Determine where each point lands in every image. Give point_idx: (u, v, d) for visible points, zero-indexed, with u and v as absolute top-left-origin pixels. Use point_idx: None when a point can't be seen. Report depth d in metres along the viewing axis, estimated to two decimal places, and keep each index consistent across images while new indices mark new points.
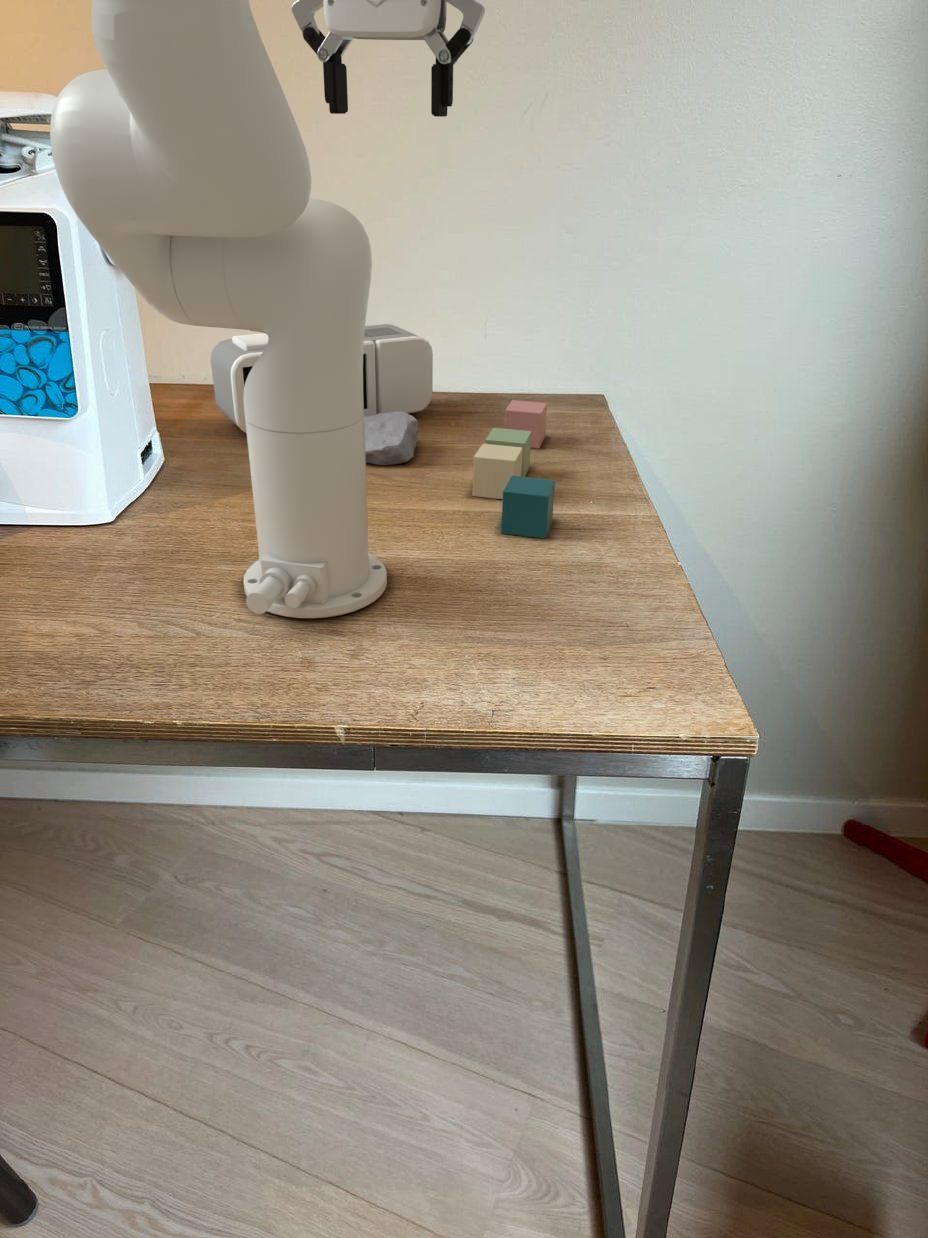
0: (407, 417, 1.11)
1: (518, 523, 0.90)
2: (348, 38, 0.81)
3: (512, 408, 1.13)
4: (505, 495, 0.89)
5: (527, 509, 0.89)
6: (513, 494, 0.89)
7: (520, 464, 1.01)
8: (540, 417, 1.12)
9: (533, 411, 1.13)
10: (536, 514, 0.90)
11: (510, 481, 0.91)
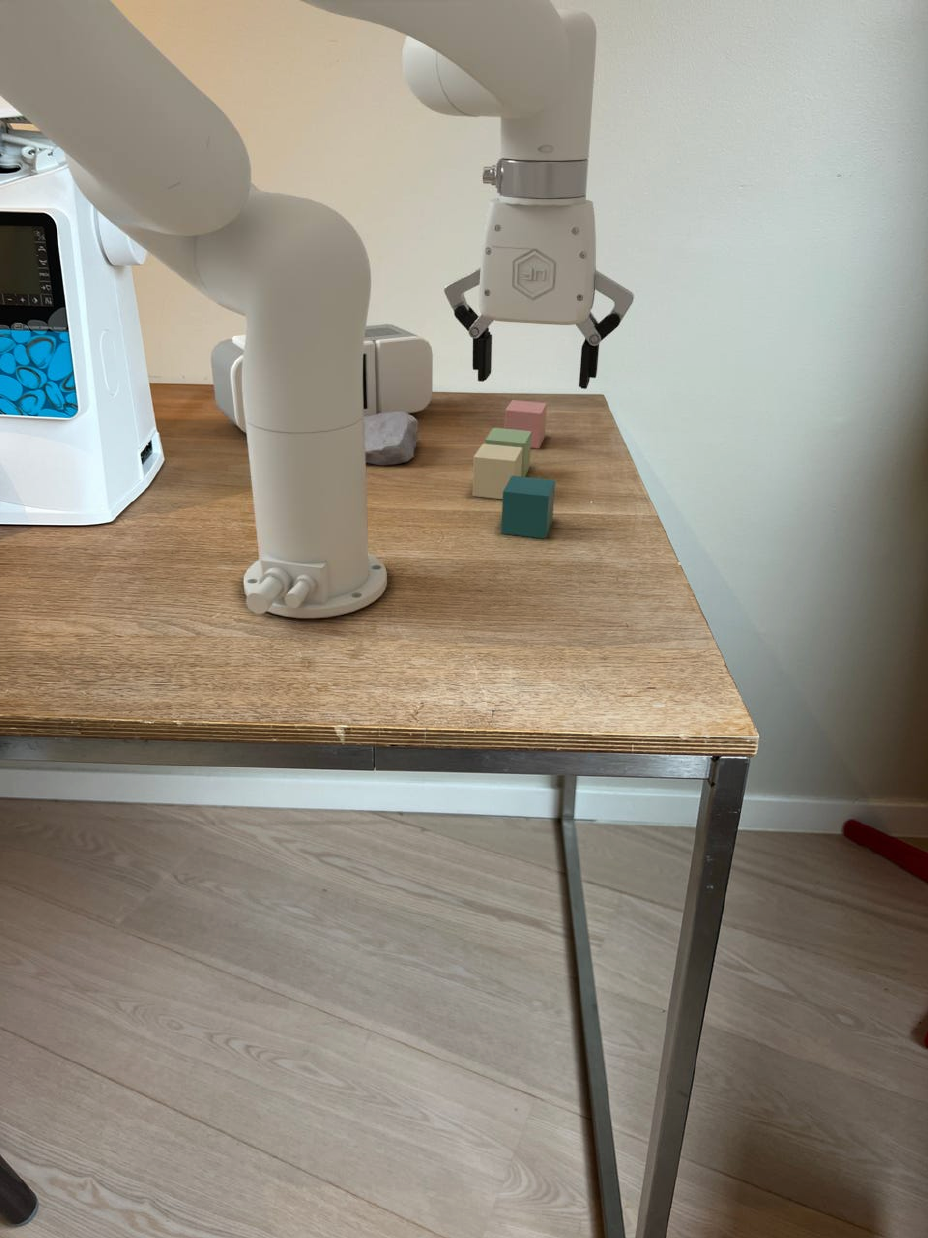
0: (407, 417, 1.11)
1: (518, 523, 0.90)
2: None
3: (512, 408, 1.13)
4: (505, 495, 0.89)
5: (527, 509, 0.89)
6: (513, 494, 0.89)
7: (520, 464, 1.01)
8: (540, 417, 1.12)
9: (533, 411, 1.13)
10: (536, 514, 0.90)
11: (510, 481, 0.91)
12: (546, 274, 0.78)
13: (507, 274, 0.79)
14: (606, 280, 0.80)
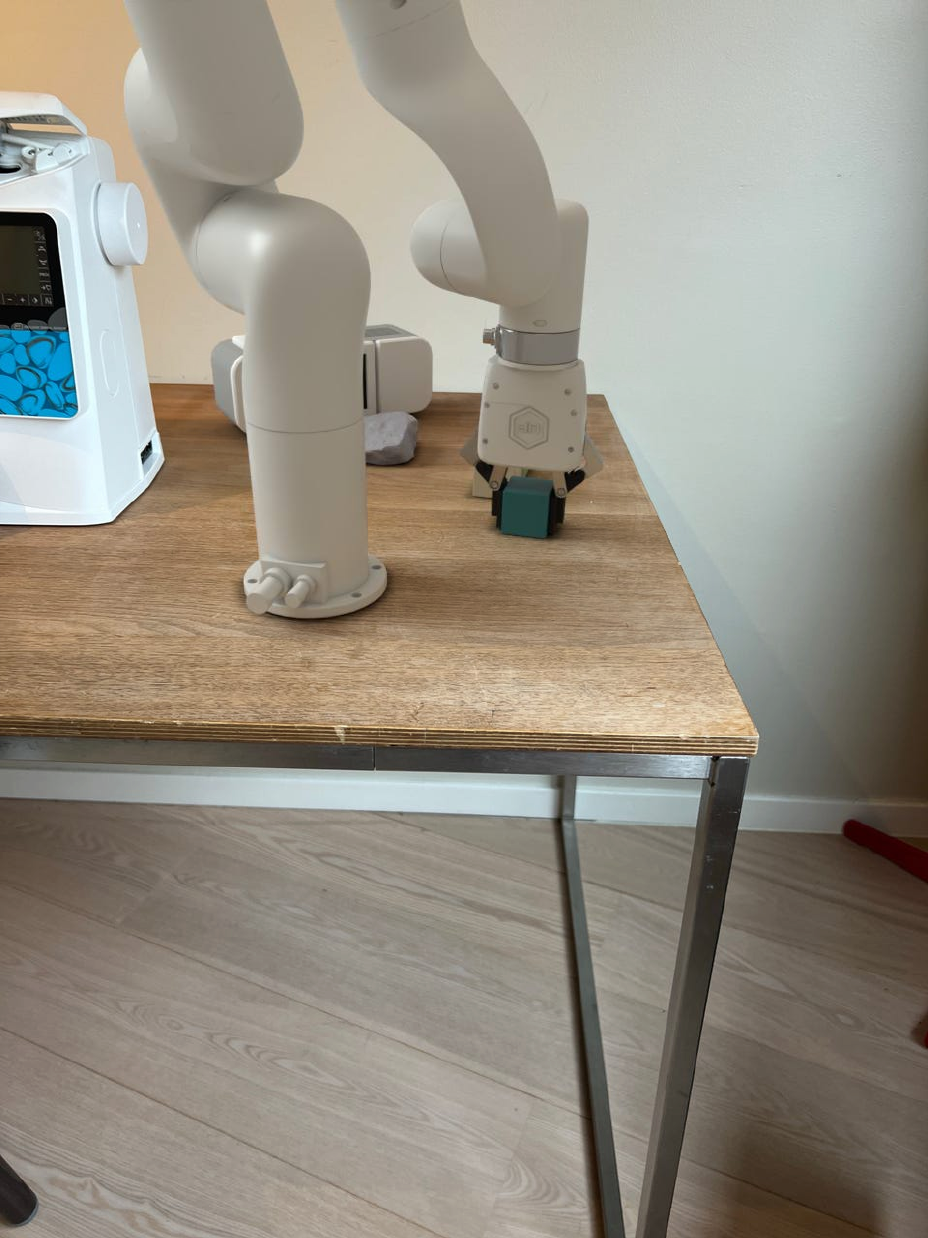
0: (407, 417, 1.11)
1: (518, 523, 0.90)
2: None
3: None
4: (505, 495, 0.89)
5: (527, 509, 0.89)
6: (513, 494, 0.89)
7: None
8: None
9: None
10: (536, 514, 0.90)
11: (510, 481, 0.91)
12: (540, 428, 0.85)
13: (504, 426, 0.85)
14: (588, 443, 0.87)
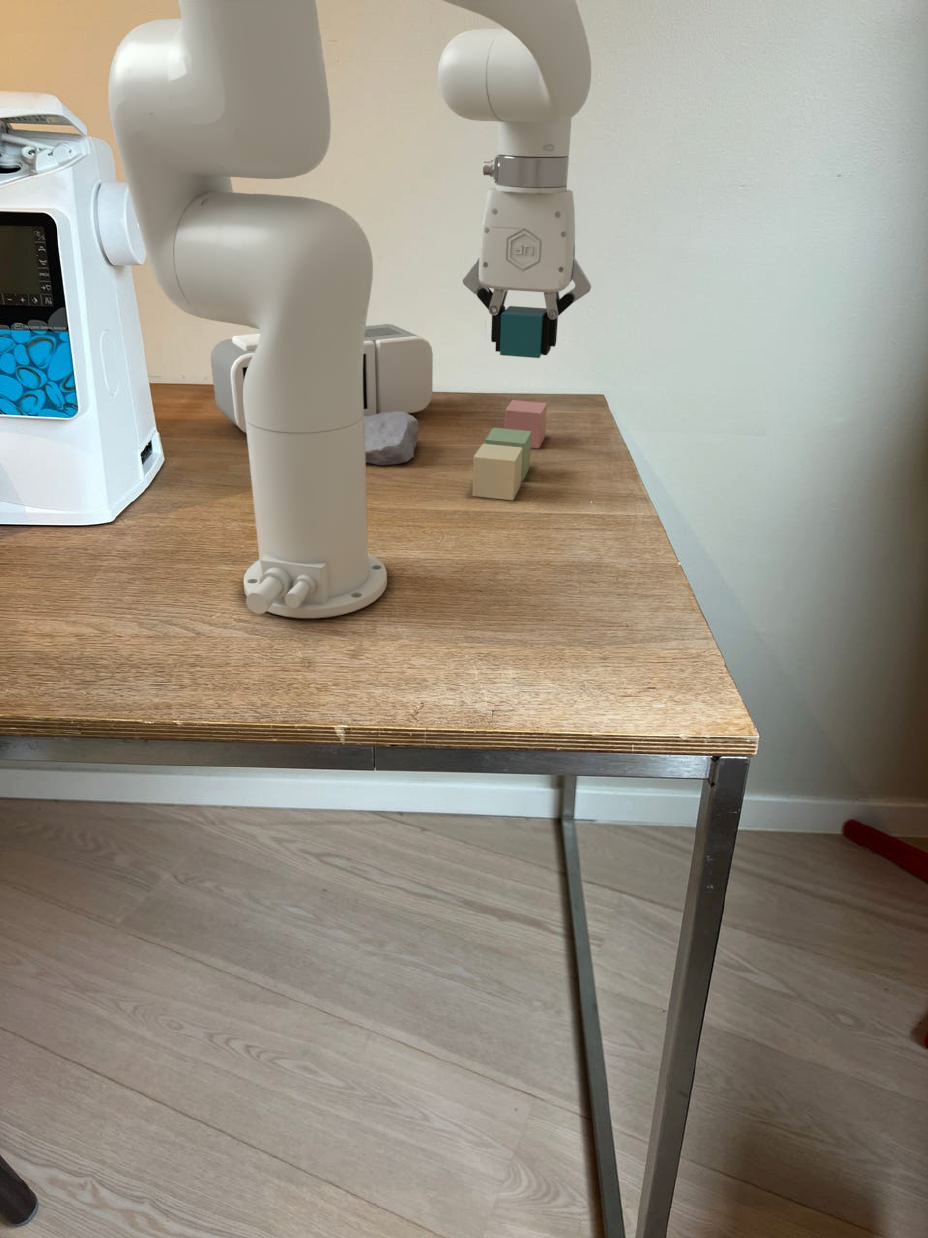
0: (407, 417, 1.11)
1: (515, 344, 1.02)
2: (506, 289, 1.01)
3: (512, 408, 1.13)
4: (503, 317, 1.01)
5: (523, 329, 1.01)
6: (510, 316, 1.00)
7: (520, 464, 1.01)
8: (540, 417, 1.12)
9: (533, 411, 1.13)
10: (530, 335, 1.01)
11: (508, 308, 1.03)
12: (534, 250, 0.96)
13: (502, 249, 0.97)
14: (576, 266, 0.98)
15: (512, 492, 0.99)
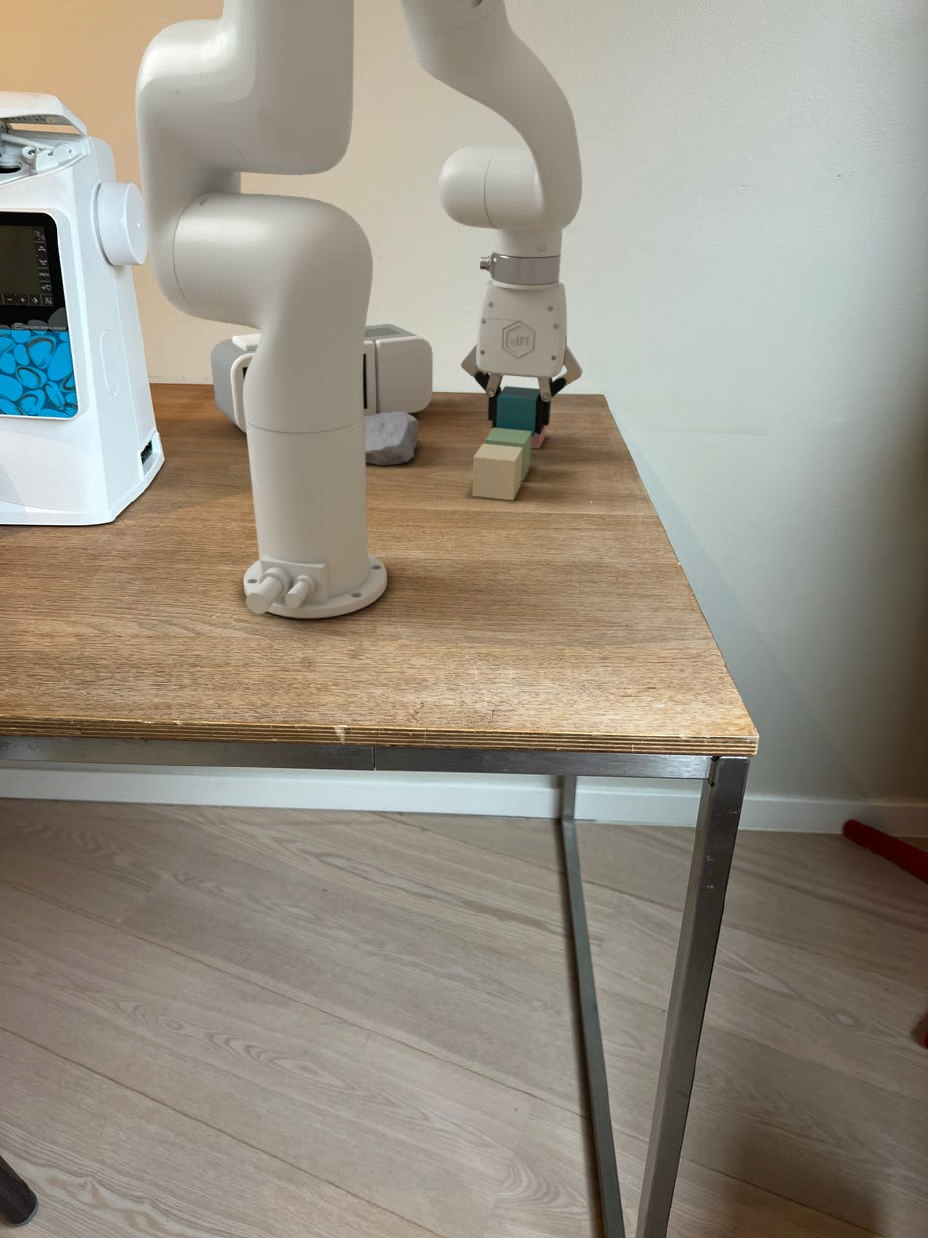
0: (407, 417, 1.11)
1: (511, 424, 1.08)
2: None
3: None
4: (499, 399, 1.07)
5: (518, 411, 1.07)
6: (506, 399, 1.06)
7: (520, 464, 1.01)
8: None
9: None
10: (525, 416, 1.07)
11: (504, 389, 1.09)
12: (528, 340, 1.02)
13: (498, 339, 1.03)
14: (568, 353, 1.04)
15: (512, 492, 0.99)
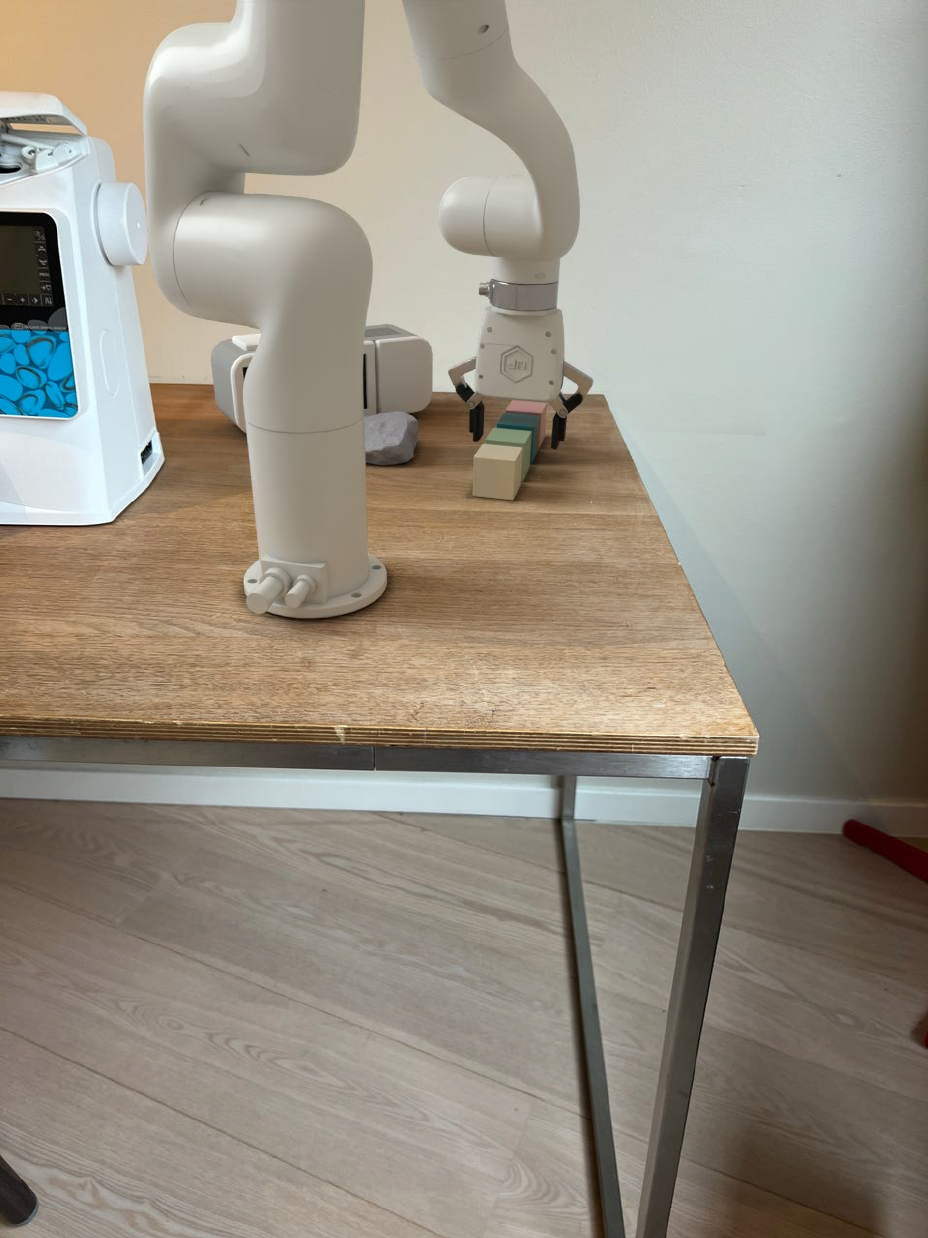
0: (407, 417, 1.11)
1: None
2: None
3: (512, 408, 1.13)
4: (498, 427, 1.08)
5: None
6: (505, 426, 1.08)
7: (520, 464, 1.01)
8: (540, 417, 1.12)
9: (533, 411, 1.13)
10: None
11: (502, 416, 1.10)
12: (526, 364, 1.03)
13: (496, 363, 1.04)
14: (572, 369, 1.04)
15: (512, 492, 0.99)
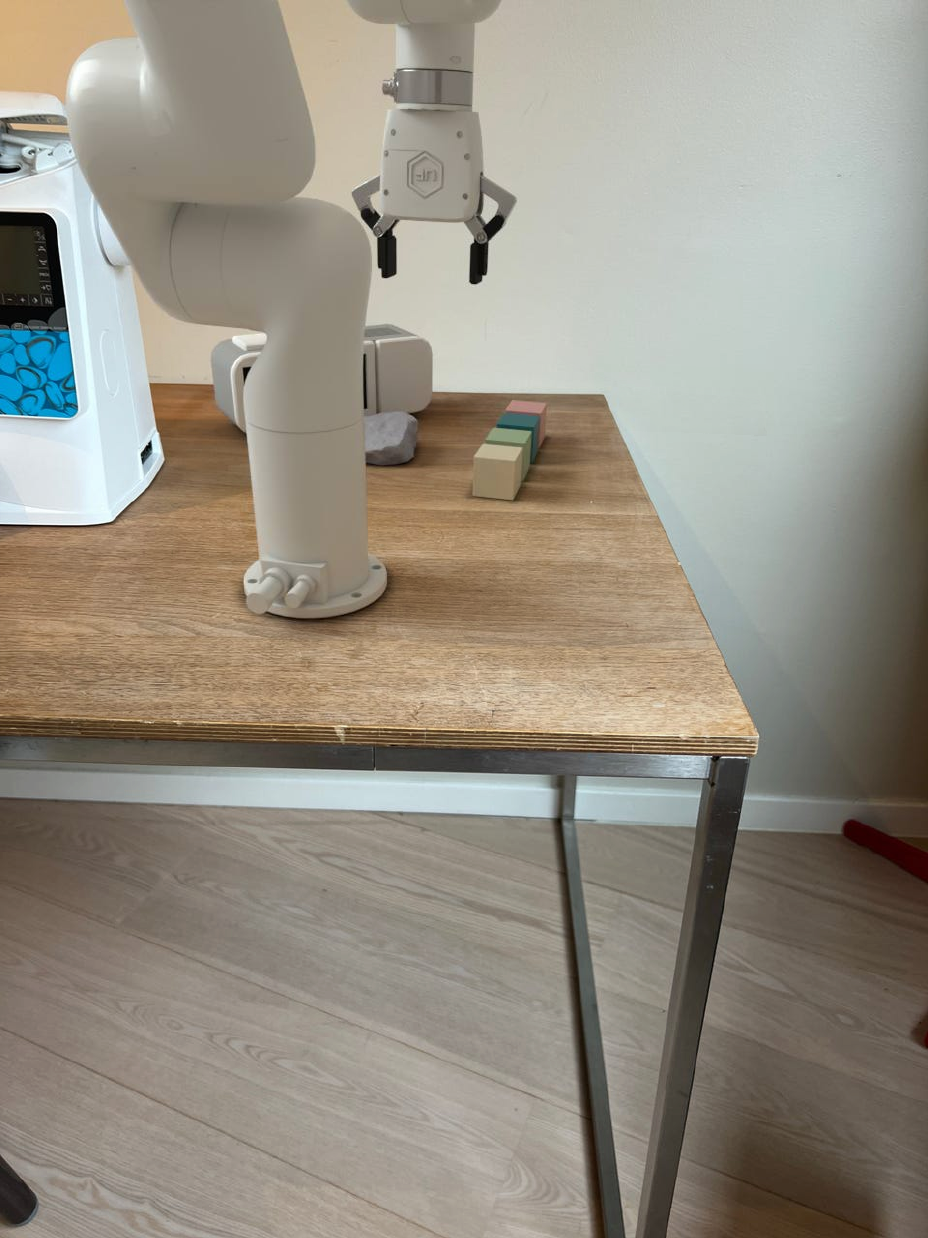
0: (407, 417, 1.11)
1: None
2: None
3: (512, 408, 1.13)
4: (498, 427, 1.08)
5: None
6: (505, 426, 1.08)
7: (520, 464, 1.01)
8: (540, 417, 1.12)
9: (533, 411, 1.13)
10: None
11: (502, 416, 1.10)
12: (436, 174, 0.89)
13: (402, 175, 0.90)
14: (490, 183, 0.90)
15: (512, 492, 0.99)
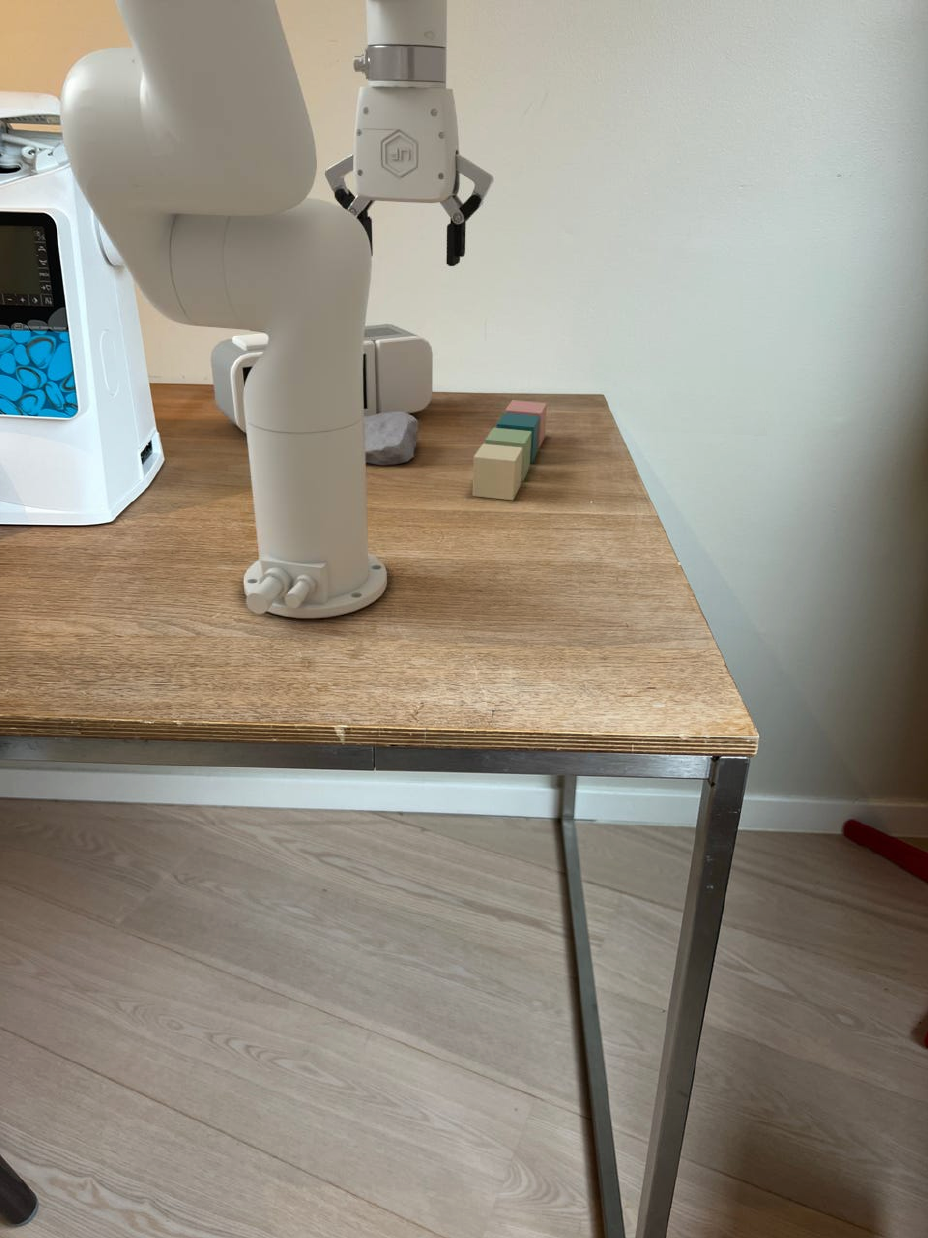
0: (407, 417, 1.11)
1: None
2: None
3: (512, 408, 1.13)
4: (498, 427, 1.08)
5: None
6: (505, 426, 1.08)
7: (520, 464, 1.01)
8: (540, 417, 1.12)
9: (533, 411, 1.13)
10: None
11: (502, 416, 1.10)
12: (410, 154, 0.87)
13: (376, 154, 0.88)
14: (466, 162, 0.88)
15: (512, 492, 0.99)
